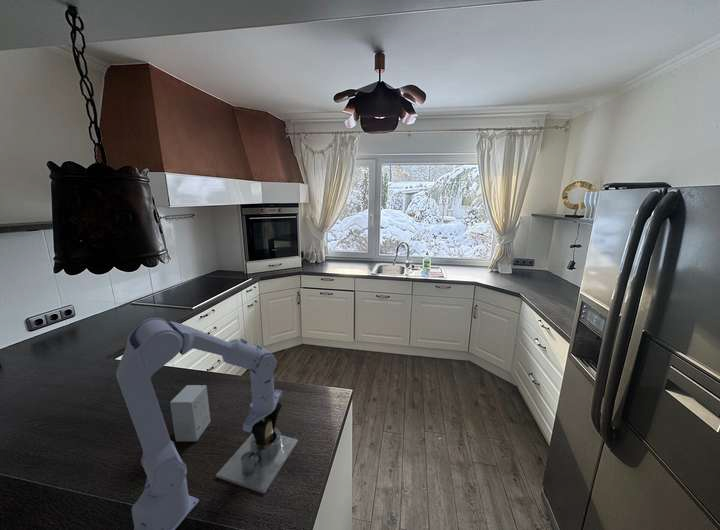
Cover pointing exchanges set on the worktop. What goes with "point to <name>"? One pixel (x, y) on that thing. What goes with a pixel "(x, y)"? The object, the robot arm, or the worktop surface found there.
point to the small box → (190, 412)
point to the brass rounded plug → (267, 432)
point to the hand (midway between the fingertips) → (265, 435)
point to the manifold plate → (257, 462)
